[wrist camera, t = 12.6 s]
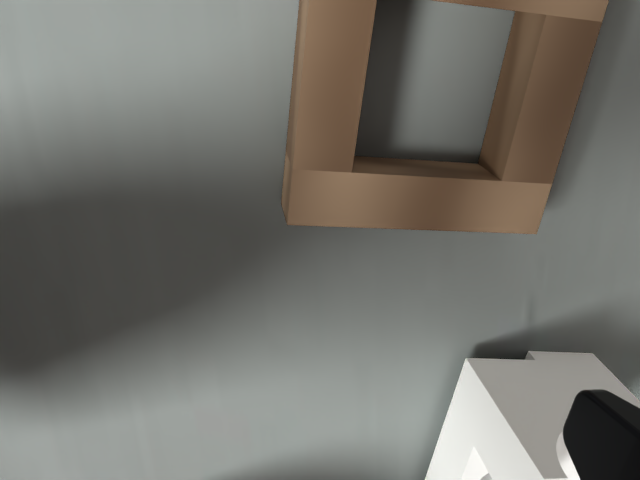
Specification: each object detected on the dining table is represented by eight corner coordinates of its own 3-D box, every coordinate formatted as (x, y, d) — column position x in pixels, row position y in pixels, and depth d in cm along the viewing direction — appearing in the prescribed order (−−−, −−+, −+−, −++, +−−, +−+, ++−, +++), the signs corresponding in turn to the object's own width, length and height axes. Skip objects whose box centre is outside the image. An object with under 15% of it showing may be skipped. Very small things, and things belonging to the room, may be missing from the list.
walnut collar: (281, 203, 21) (287, 225, 19) (307, -89, 17) (318, -97, 15) (511, 213, 22) (536, 233, 21) (585, -47, 18) (623, -49, 17)
